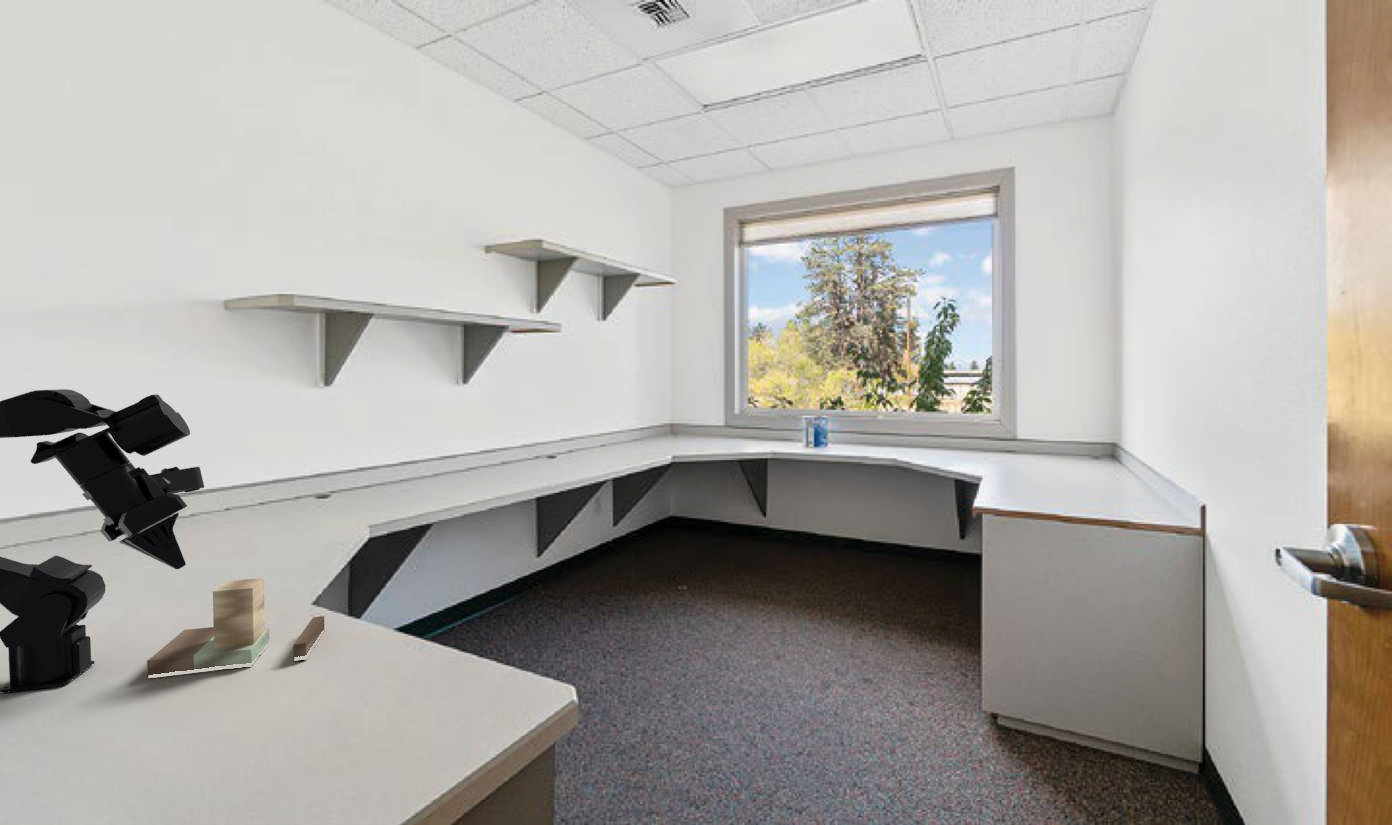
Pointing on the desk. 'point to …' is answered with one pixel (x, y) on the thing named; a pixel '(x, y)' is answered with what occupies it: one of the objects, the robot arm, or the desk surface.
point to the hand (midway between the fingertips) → (181, 567)
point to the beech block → (238, 613)
